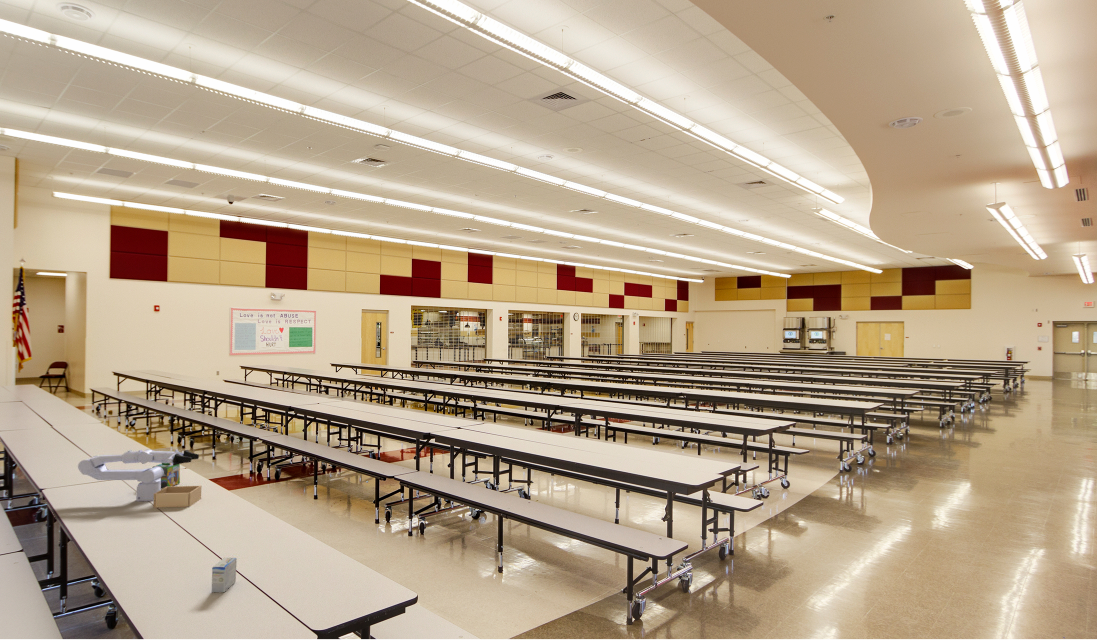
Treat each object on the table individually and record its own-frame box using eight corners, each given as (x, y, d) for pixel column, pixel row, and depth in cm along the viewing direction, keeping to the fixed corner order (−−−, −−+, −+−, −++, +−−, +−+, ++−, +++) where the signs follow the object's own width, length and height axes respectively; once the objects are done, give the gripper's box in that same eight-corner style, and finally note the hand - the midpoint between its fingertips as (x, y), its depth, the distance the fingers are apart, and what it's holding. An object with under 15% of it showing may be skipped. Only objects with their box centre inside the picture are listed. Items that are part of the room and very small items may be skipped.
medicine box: (222, 582, 194) (223, 557, 194) (236, 582, 194) (236, 557, 194) (211, 593, 186) (211, 567, 186) (225, 592, 186) (225, 566, 186)
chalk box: (180, 483, 308) (180, 456, 308) (167, 488, 298) (167, 460, 298) (164, 483, 308) (165, 456, 309) (151, 487, 299) (151, 460, 299)
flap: (155, 507, 266) (155, 493, 266) (155, 507, 267) (156, 493, 267) (188, 506, 269) (188, 493, 269) (188, 506, 269) (188, 492, 269)
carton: (153, 509, 266) (153, 493, 266) (166, 501, 278) (166, 486, 278) (190, 507, 269) (190, 492, 269) (201, 500, 281) (201, 485, 281)
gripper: (158, 451, 274) (188, 453, 275) (174, 446, 288) (202, 447, 290) (157, 466, 273) (187, 467, 275) (172, 460, 288) (201, 461, 290)
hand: (194, 458), depth 282 cm, fingers open, 7 cm apart
